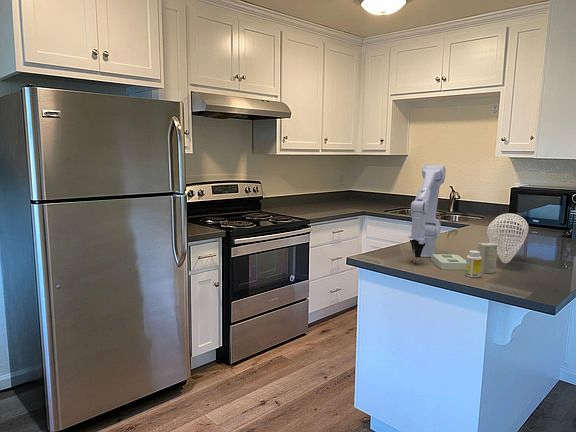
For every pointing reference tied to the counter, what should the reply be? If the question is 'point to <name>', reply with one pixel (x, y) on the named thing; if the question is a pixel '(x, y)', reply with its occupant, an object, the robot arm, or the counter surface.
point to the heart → (517, 247)
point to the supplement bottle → (473, 264)
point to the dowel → (415, 259)
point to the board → (449, 261)
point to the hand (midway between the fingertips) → (416, 256)
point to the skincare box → (488, 257)
